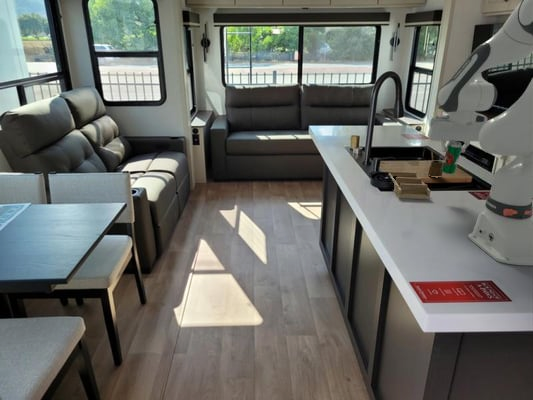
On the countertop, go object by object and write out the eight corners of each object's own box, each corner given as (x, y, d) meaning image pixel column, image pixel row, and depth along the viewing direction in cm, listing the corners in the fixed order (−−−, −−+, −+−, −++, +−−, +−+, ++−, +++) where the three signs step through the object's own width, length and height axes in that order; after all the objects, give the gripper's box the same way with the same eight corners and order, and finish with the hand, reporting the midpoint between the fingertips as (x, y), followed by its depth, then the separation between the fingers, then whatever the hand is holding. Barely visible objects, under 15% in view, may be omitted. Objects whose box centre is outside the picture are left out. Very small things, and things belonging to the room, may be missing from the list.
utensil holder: (442, 179, 175) (447, 153, 170) (428, 178, 176) (432, 152, 171) (440, 174, 180) (445, 149, 176) (426, 173, 181) (430, 149, 177)
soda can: (455, 175, 149) (463, 145, 144) (441, 173, 150) (448, 144, 145) (454, 170, 153) (461, 141, 148) (440, 168, 155) (447, 140, 149)
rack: (428, 199, 153) (431, 187, 151) (398, 198, 154) (400, 186, 152) (414, 181, 172) (416, 170, 170) (387, 180, 172) (389, 169, 170)
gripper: (434, 116, 141) (428, 153, 146) (492, 117, 139) (483, 154, 145) (428, 113, 146) (423, 149, 152) (484, 114, 145) (476, 150, 150)
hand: (453, 151), depth 148 cm, fingers closed on soda can, 5 cm apart
